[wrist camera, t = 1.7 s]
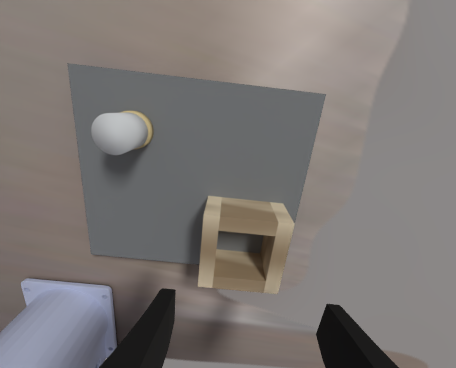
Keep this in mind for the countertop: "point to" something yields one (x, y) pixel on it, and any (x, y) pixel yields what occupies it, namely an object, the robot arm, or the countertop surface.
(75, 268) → the countertop surface
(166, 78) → the post mat
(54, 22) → the countertop surface
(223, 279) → the collar
